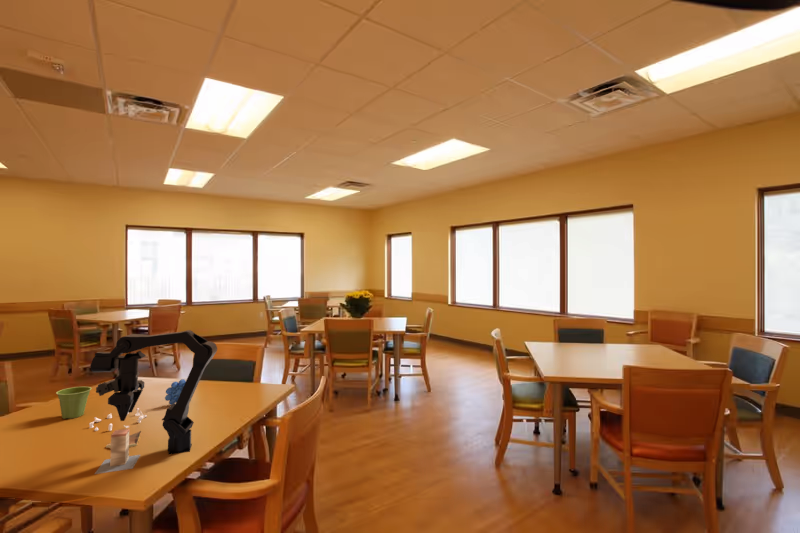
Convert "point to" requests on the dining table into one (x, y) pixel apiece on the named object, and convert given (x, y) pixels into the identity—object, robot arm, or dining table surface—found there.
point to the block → (119, 447)
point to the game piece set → (111, 417)
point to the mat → (107, 468)
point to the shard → (130, 440)
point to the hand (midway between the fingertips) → (126, 416)
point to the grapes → (174, 391)
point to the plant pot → (73, 401)
